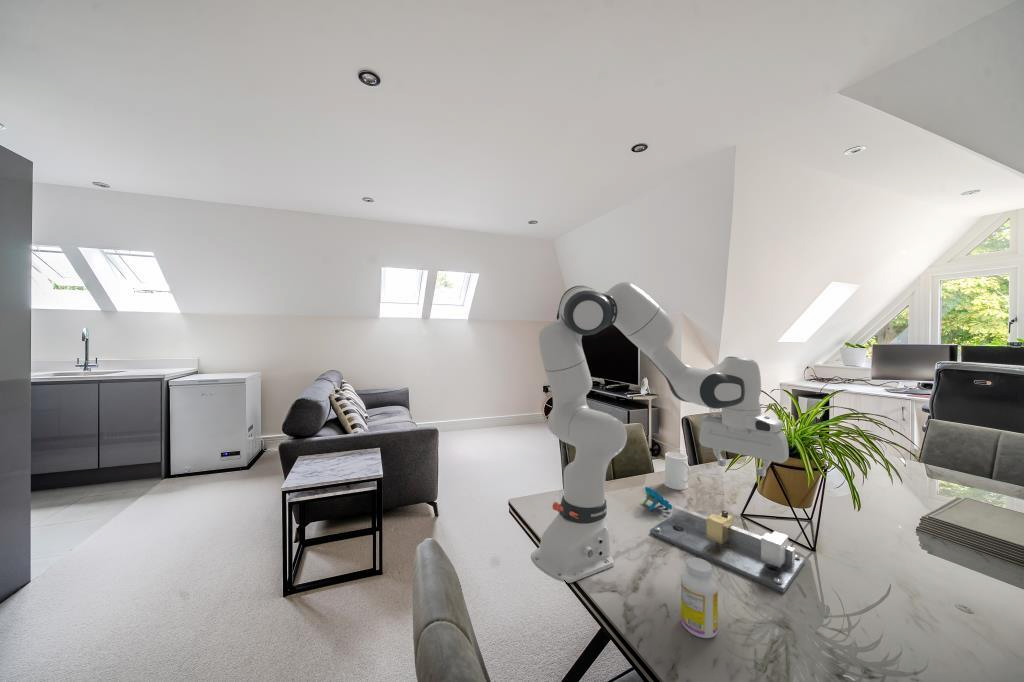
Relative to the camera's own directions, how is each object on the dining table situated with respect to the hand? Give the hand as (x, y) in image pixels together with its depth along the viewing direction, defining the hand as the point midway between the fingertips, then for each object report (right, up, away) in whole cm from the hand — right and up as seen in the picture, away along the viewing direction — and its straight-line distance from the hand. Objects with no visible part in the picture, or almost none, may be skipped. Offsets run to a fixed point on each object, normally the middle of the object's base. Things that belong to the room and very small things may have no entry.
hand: (740, 470), depth 98 cm
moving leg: (-2, -22, +6) cm, 23 cm away
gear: (-11, -23, +28) cm, 38 cm away
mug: (+4, -23, +46) cm, 52 cm away
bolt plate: (-2, -23, +5) cm, 24 cm away
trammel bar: (-2, -22, +5) cm, 23 cm away
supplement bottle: (-23, -24, -23) cm, 40 cm away
